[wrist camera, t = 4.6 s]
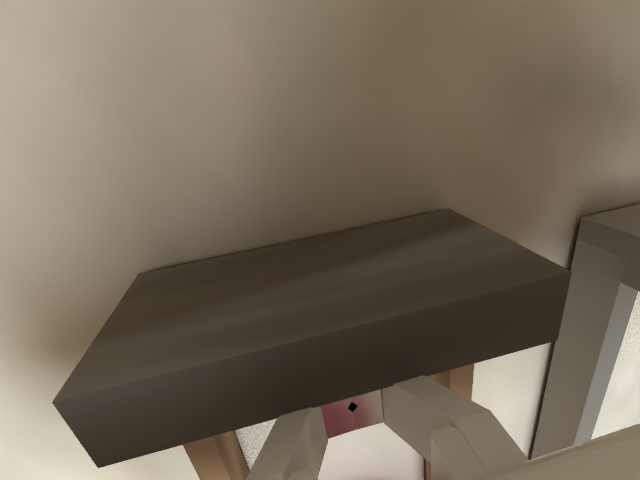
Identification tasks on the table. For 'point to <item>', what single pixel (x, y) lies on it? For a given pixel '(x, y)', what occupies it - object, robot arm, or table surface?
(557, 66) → the table surface
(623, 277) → the grey open rectangular frame
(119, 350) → the brown wooden rectangular frame
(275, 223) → the table surface
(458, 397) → the robot arm
